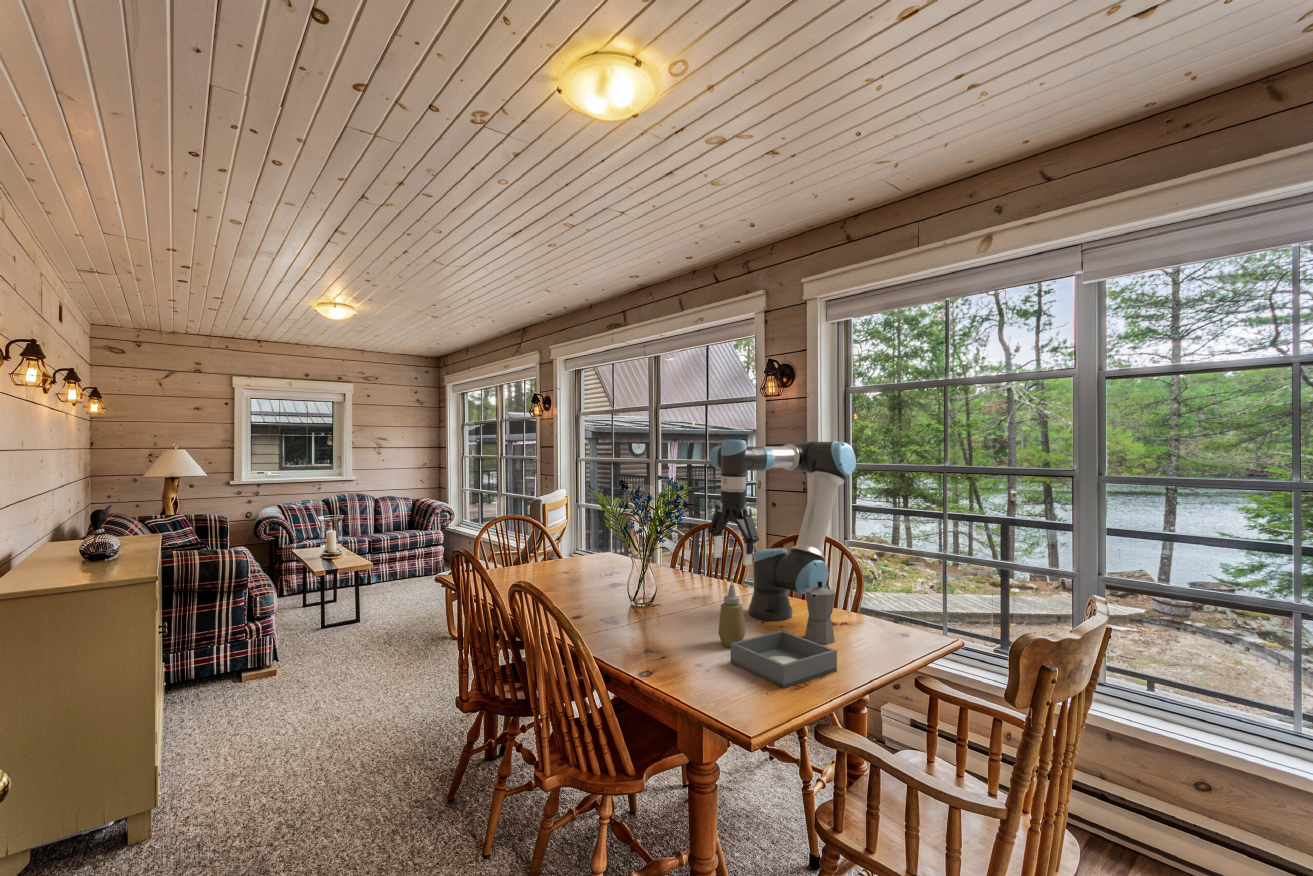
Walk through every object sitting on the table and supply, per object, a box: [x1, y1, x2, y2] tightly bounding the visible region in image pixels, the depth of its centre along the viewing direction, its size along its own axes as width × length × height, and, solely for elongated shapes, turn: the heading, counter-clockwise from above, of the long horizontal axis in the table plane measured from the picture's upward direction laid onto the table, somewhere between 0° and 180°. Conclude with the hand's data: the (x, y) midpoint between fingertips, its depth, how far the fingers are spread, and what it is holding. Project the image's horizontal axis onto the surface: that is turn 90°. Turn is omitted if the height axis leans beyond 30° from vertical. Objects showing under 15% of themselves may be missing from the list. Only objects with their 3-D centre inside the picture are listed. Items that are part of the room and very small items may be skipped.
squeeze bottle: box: [717, 584, 746, 648], centre depth 178 cm, size 8×8×18 cm
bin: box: [730, 630, 838, 689], centre depth 161 cm, size 20×20×6 cm
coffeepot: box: [804, 581, 836, 645], centre depth 184 cm, size 15×9×18 cm, turn 147°
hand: (732, 561), depth 179 cm, fingers open, 13 cm apart
